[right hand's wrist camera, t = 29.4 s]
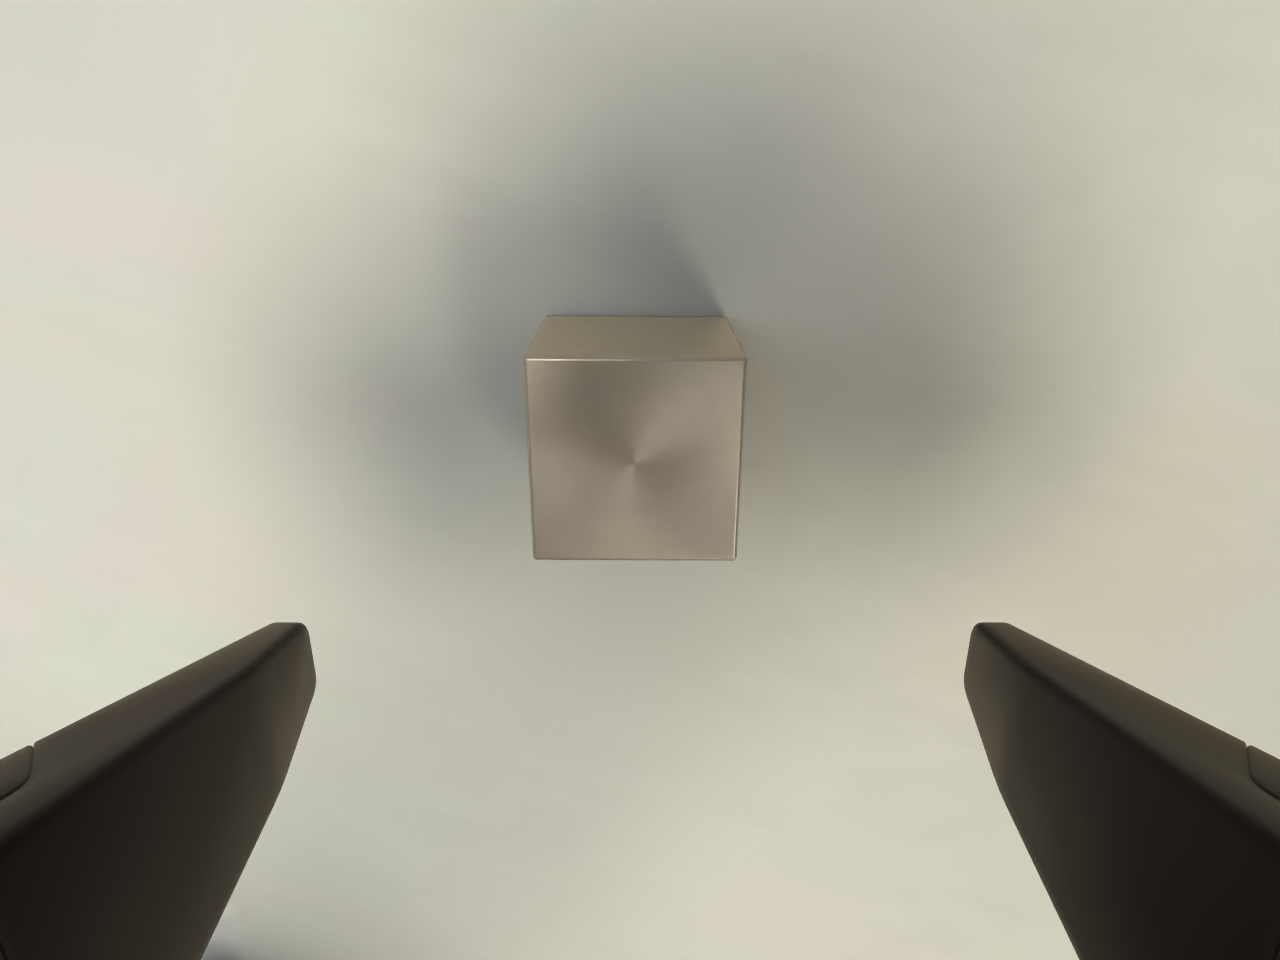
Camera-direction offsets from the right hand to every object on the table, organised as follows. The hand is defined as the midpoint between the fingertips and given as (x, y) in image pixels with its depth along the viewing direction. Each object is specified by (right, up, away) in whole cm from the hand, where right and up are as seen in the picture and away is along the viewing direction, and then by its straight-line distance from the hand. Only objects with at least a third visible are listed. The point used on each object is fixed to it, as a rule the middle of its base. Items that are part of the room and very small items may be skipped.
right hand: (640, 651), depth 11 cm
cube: (0, +4, +11) cm, 12 cm away
